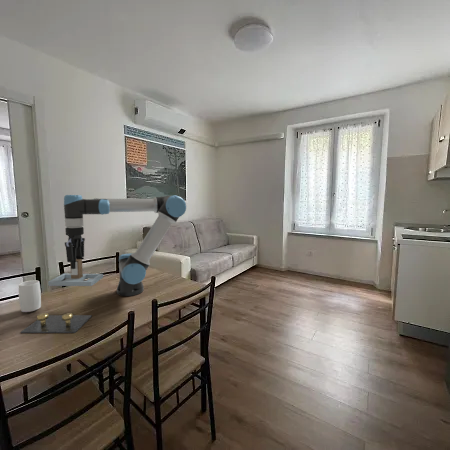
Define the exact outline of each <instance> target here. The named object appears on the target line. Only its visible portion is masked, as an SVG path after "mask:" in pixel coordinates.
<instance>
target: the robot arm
mask: <svg viewBox="0 0 450 450" xmlns="http://www.w3.org/2000/svg"><path fill="white" fill-rule="evenodd" d="M63 208H64V209H63V210H64V211H63V212H64V224H65V225H64V226H65V235H66V236H67V237H68V238H67V239H68V240H67V242H66V241H65V242H64V247H65V254H66V260H67V262H68V263H70V262H71V267H70V274H71V275H78V265H77V262H76V259H82V260H84V259H85V258H84V257H85V240H86V238H85V237H82V235H84V229H85V228H84V215H109V214H110V213H129V212H130V213H138V212H139V213H140V212H154V213H155V214H158V216H157V218H156V219H155V221H154V223H153V224H152V225H151V227H150V229H149V230H148V232H147V233H146V235H145V236H144V238H143V240H142V241H141V243H140V245H139V246H138V248H137V249H136V251H135V252H133V253H132V252H131V253H124V254H123V253H122V254H120V255H119V256H118V262H119V263H118V268H119V272H118V273H119V281H118V284H117V287H116V294H117V295H118V296H120V297H121V296H122V297H132V296H137V295H140V294H142V293H143V292H144V283H143V280H144V279H145V278H146V275H147V270H148V268H149V267H150V266H151V263H150V260H151V258H152V257H153V255H154V254H155V252H156V250H157V248H158V247H159V246H160V244H161V242H162V240H163V238H165V236H166V234H167V233H168V231H169V229H170V227H171V226H172V225H173V224H175V223H177V221H178V220H179V218H181V217H182V216H184V214H185V213H186V211H187V203H186V201H185V199H184V198H182V197H181V196H178V195H164V196H154V197H152V198H91V199H86V198H83V196H82V195H81V194H66V195H64V197H63Z"/></svg>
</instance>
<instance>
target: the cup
mask: <svg viewBox="0 0 450 450" xmlns="http://www.w3.org/2000/svg"><path fill="white" fill-rule="evenodd" d="M41 296H42V292H41V284H40V281H39V280H36V279H34V280H33V279H32V280H26V281H23V282H20V283H19V284H18V302H19V308H20V311H21V312H23V313H30V312H33V311H37V310H38V309H40V308H41V307H42V297H41Z"/></svg>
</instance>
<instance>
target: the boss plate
mask: <svg viewBox="0 0 450 450" xmlns="http://www.w3.org/2000/svg"><path fill="white" fill-rule="evenodd" d="M92 317H93V316H92V315H91V314H89V315H87V314H85V315H83V314H80V315H74V314H73V313H72V312H69V313H68V312H65V313H64V314H61V315H59V314H58V315H55V314H49V313H48V312H43V313H39V314H38V315H37V316H36V320H34V322H32V323H31V324H29V325H28V326H27V327H25V328H24V329H23V330H21V331H20V333H21V334H75V333H77V332H78V331H79V330H80V329H81V328H82V327H83V326H84V325H85V324H86V323H87V322H89V320H90V319H91V318H92Z"/></svg>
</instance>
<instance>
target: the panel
mask: <svg viewBox="0 0 450 450" xmlns="http://www.w3.org/2000/svg"><path fill="white" fill-rule="evenodd" d="M76 262H77V265H78V275H71V273H62V274H60V275H58V276H56V277H54V278H52V279H51V280H48V281H47V282H48V283H47V284H48V285H47V286H49V287H50V286H54V287H55V286H57V287H59V286H60V287H64V286H65V287H92V286H94V285H96V284H97V283H98V282H99V281H100V280H102V279H103V278H104V273H83V259H76ZM69 263H70V265H69V266H70V268H71V262H69ZM86 279H87V280H86Z"/></svg>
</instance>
